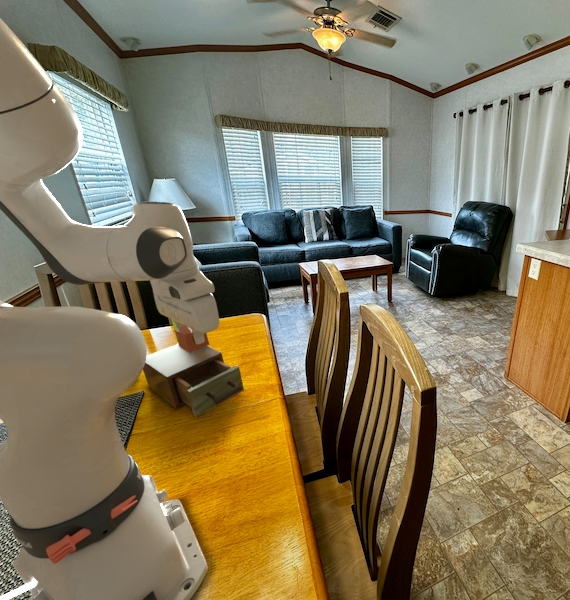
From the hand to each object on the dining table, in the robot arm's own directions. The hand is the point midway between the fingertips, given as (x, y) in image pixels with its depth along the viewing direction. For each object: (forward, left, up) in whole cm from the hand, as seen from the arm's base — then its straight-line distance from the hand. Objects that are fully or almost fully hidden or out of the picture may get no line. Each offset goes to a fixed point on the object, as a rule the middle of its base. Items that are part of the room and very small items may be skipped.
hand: (192, 339), depth 74 cm
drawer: (-1, -1, -16) cm, 16 cm away
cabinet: (+11, -1, -17) cm, 20 cm away
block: (0, 0, -2) cm, 2 cm away
